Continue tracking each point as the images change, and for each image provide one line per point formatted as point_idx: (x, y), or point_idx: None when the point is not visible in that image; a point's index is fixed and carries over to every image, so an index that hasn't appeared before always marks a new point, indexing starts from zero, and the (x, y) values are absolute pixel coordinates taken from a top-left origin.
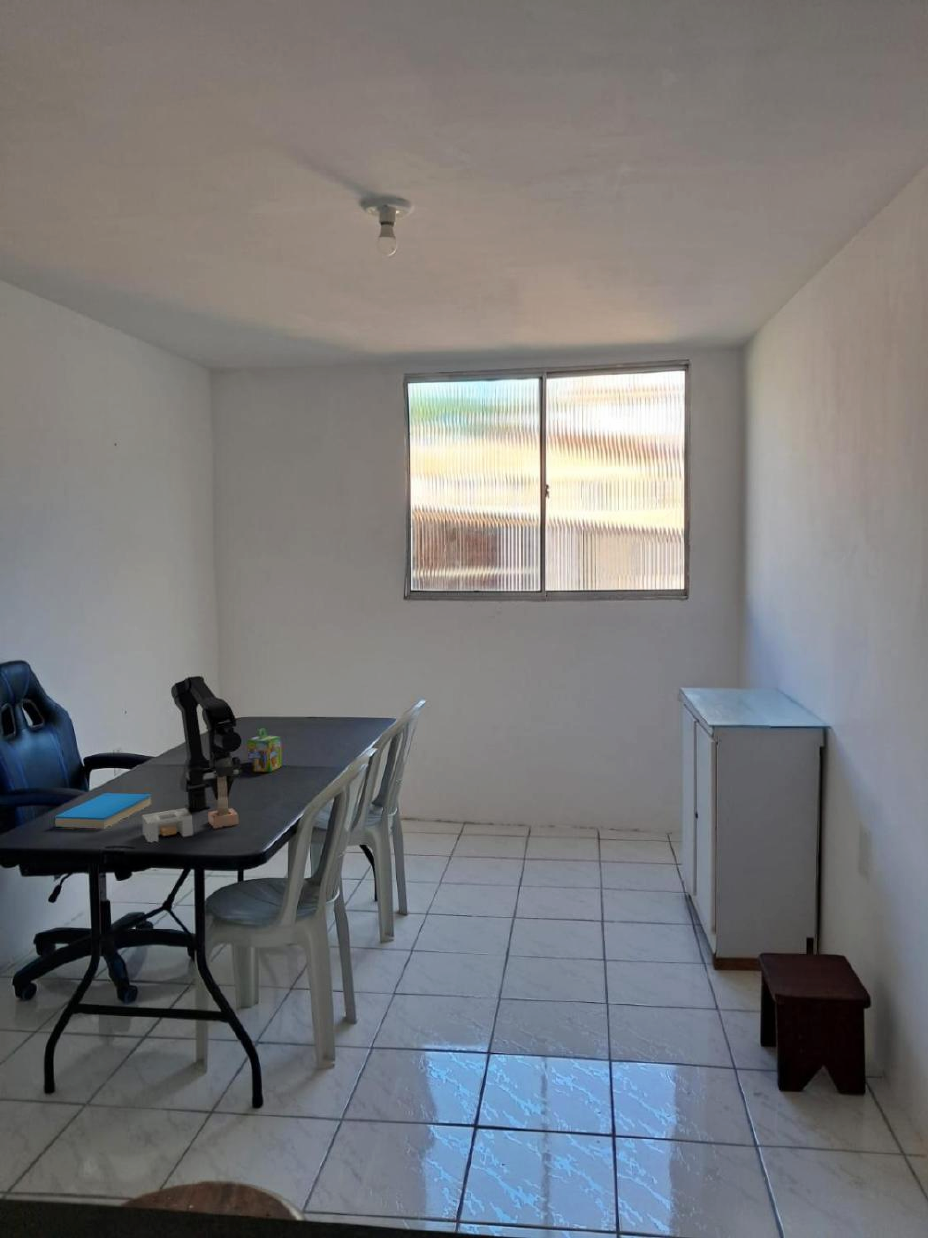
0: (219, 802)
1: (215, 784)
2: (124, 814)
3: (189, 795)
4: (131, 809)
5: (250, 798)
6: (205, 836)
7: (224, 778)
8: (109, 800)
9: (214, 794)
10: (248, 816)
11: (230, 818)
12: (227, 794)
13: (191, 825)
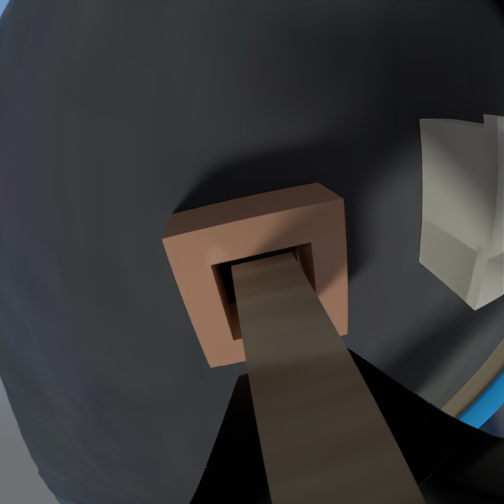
0: (321, 318)
1: (441, 463)
2: (483, 377)
3: None
4: (465, 401)
5: (167, 466)
6: (368, 59)
7: None
8: (474, 423)
9: (387, 380)
10: (132, 332)
11: (218, 217)
12: (247, 400)
13: (456, 123)
